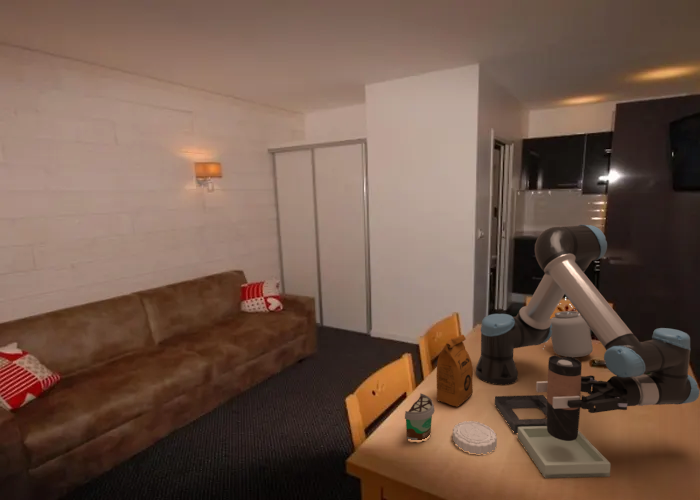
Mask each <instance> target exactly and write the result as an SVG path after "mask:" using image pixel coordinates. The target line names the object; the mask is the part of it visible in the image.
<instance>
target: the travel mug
mask: <svg viewBox="0 0 700 500" xmlns="http://www.w3.org/2000/svg"><path fill="white" fill-rule="evenodd" d="M547 366H548V367H547V381H548V385H547V392H546V399H547V416H546V419H547V431H548V433H549V434H550V435H551V436H553V437H555V438H557V439H560V440H564V441H573V440H575V439H576V438H577V436H578V430H579V425H580V423H579V422H580V411H581V408H557V409H554V408H553V397H563V396H579V397H580V399H582V394H581V393H582V392H581V376H582V362H581V361H580V360H579V359H578V358H576V357H569V356H567V357H565V356H559V355H558V354H556V355H552V356H549V358H548V365H547Z"/></svg>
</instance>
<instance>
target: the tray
mask: <svg viewBox="0 0 700 500" xmlns="http://www.w3.org/2000/svg"><path fill="white" fill-rule="evenodd" d="M517 437H518V438H517V440H518V439H519V440H520V441H519V440H518V441H519V442H521V443H522V444H523V445H522V444H521V443H520V444H521V445H522V447H523V446H524V447H525V448H524V447H523V448H524V450H525V449H526V450H527V451H526V450H525V451H526V452H528V453H529V454H528V453H527V454H528V456H529V455H530V456H529V457H530V459H531V458H532V459H533V460H532V459H531V460H532V462H533V461H534V462H533V463H534V465H535V464H536V465H535V466H536V468H537V467H538V468H537V469H538V471H539V470H540V471H539V472H540V473H542V474H541V475H542V477H543V476H544V477H545V478H544V477H543V478H544V479H561V478H562V479H565V478H566V479H567V478H568V479H569V478H600V477H601V478H602V477H603V478H604V477H605V478H607V477H609V478H610V476H611V467H612V466H611V462H610V461H609V460H608V459H607V458H606V457H605V456H604V455H603V454H602V453H601V452H600V451H599V450H598V449H597V448H596V447H595V446H594V445H593V444H592V442H591V441H589V439H588V438H587V437H586V436H585V435H584V434H583V433H582V432H581V431H580V430H579V429H578V436H577V438H576V439H575V440H573V441H564V440H560V439H557V438H555V437H553V436H551V435H550V434H549V433H548V431H547V426H531V427H518V434H517Z"/></svg>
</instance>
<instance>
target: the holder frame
mask: <svg viewBox="0 0 700 500" xmlns="http://www.w3.org/2000/svg"><path fill="white" fill-rule="evenodd" d="M495 405H496V406H497V407H496V406H495ZM494 406H495V407H496V409H497V408H498V409H499V410H498V409H497V410H498V412H499V411H500V412H501V413H500V412H499V413H500V415H501V414H502V415H503V416H502V415H501V416H502V418H503V417H504V418H503V420H504V421H505V420H506V421H507V422H506V421H505V422H506V424H507V423H508V424H509V425H508V424H507V425H508V427H509V426H510V427H511V428H510V427H509V428H510V429H512V430H513V431H514V433H518V427H531V426H547V418H522V419H520V418H519V417H518V415H517V413H515V411H514V410H513V409H539V410H540V411H541V412H542V413H543V414H544V416H545V417H547V396H545V395H544V394H535V395H534V394H533V395H531V394H530V395H529V394H528V395H499V396H498V395H495V396H494ZM512 430H511V431H512ZM513 431H512V432H513ZM514 433H513V434H514Z"/></svg>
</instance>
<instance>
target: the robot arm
mask: <svg viewBox="0 0 700 500" xmlns="http://www.w3.org/2000/svg"><path fill="white" fill-rule="evenodd" d="M606 239H607V238H606V235H605V234H604V233H603V231H602V230H601V229H600V228H599V227H597V226H594V225H590V224H579V225H570V226H569V225H568V226H567V225H566V226H565V225H564V226H552V227H549V228H547V229H545V230H544V231H542V232H541V233H540V234H539V235H538V237H537V239H536V241H535V244H534V255H535V259H536V261H537V263H538V265H539V267H540V268H541V270H542V271H543V272H544V275H543V276H542V279H541V281H540V282H539V283H538V286H537V288H536V289H535V291H534V293H533V295H532V296H531V298H530V300H529V302H528V304H527V305H525V306H522V307H521V308H520V309H519V311H518V313H516V314H517V315H516V316H512V315H510V314H507V313H492V314H488V315H487V316H484V318H483V319H482V321H481V325H480V326H481V327H480V356H479V360H478V362H477V364H476V366H475V376H476V377H477V376H478V377H479V378H478V377H477V378H478V379H480V380H481V379H482V380H481V381H483V380H484V381H483V382H485V381H487V382H486V383H488V382H490V383H489V384H492V383H494V384H493V385H498V384H502V385H501V386H505V384H507V385H512V384H514V383H516V382H517V381H518V380H519V378H518V377H519V372H518V369H517V366H516V363H515V359H514V350H515V349H518V348H519V349H520V348H524V347H532V346H539V345H542V344H545V343H548V341H549V340H550V339H551V335H552V330H551V328H552V324H551V317H552V315H553V313H554V312H555V310H556V308H557V307H558V306H559V305H558V304H560V302H561V300H562V299H563V297H564V296H565V297H566V299H568V300H569V301H570V304H571V305H572V307H574V308H575V311H577V312H579V315H581V316H582V318H583V319H584V320H585V322H586V323H587V325H588V326H589V329H590V331H592V332H593V334H594V336H595V337H596V338H597V339H598V341H599V342H600V343H601V345H602V346H603V348H604V349H605V352H604V354H603V355H604V356H603V360H604V362H605V366H606V368H607V370H608V371H609V372H611V373H612V374H613V376H611V377H609V379H608V380H607V381H605V380H604V381H603V380H596V378H595V375H592V374H591V375H586V376H585V375H584V376H583V375H581V393H587V394H588V395H586V396H585V395H582V394H581V398H580V397H579V396H563V397H553V408H554V409H557V408H580V409H583V410H588V411H587V412H588V413H590V414H597V413H602V412H609V411H617V410H619V411H621V410H623V411H627V410H628V407H636V406H638V407H639V406H641V407H643V406H651V405H652V406H655V405H656V406H661V405H684V404H690V403H694V402H696V401H697V400H698V399H699V396H700V388H698V383H697V381H696V379H695V378H693V376H692V375H690V374H688V373H689V366H690V365H689V364H690V355H691V350H692V349H691V337H690V335H689V334H688V333H687V332H684V331H682V330H679V329H674V328H668V327H666V328H665V327H660V328H656V329H654V331H653V334H652V335H651V338H652V339H650V340H645V341H639V339H638V337H637V336H636V335H634V333H633V332H632V331H631V329H630V328H629V327H628V326H627V324H626V323H625V322H624V321H623V320H622V319H621V317H620V316H619V315H618V313H617V312H616V311H615V310H614V309H613V307H612V306H611V305H610V303H609V302H608V301H607V300H606V299H605V297H604V296H603V295H602V294H601V293H600V291H599V289H598V288H597V287H596V286H595V285H594V284H593V282H592V281H591V280H590V279H589V278H588V276H587V275H586V274H585V271H586V270H587V269H588V267H589V265H590V264H591V263H592V261H598V260H599V259H601V258H603V257H604V256H605V255H606V252H607V250H608V242H607V240H606ZM647 373H651V374H647ZM535 383H536V385H535V389H536V390H535V392H536V393H547V385H548V380H545V381H544V380H543V381H536V382H535Z"/></svg>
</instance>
